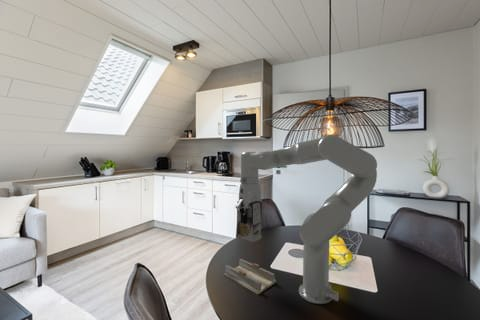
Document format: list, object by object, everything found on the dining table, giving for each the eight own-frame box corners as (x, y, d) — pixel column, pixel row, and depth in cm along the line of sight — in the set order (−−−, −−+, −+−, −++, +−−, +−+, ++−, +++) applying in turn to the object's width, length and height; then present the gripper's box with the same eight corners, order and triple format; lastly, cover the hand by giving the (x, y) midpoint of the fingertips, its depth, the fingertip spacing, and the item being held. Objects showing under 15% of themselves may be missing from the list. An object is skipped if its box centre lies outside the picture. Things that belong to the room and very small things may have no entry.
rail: (242, 266, 116) (242, 256, 115) (276, 282, 102) (276, 271, 101) (223, 275, 107) (223, 265, 107) (257, 294, 93) (257, 282, 93)
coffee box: (262, 238, 103) (262, 201, 102) (253, 242, 98) (253, 203, 98) (246, 233, 109) (246, 198, 108) (236, 237, 104) (236, 200, 104)
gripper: (241, 183, 94) (241, 228, 95) (269, 179, 106) (269, 219, 107) (228, 181, 99) (229, 224, 100) (256, 178, 111) (256, 215, 112)
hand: (249, 221), depth 103 cm, fingers closed on coffee box, 6 cm apart
